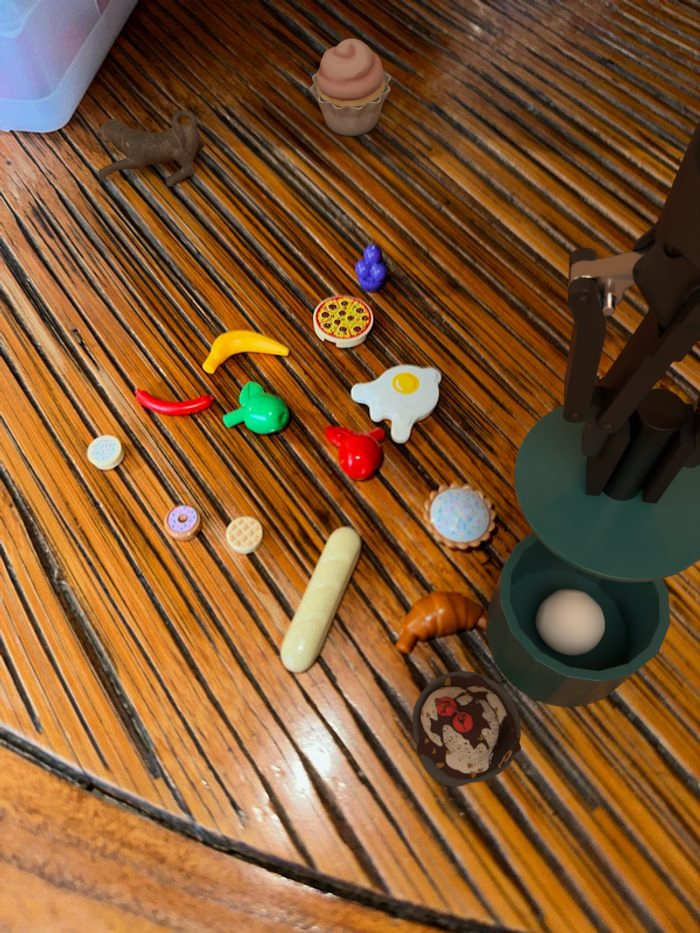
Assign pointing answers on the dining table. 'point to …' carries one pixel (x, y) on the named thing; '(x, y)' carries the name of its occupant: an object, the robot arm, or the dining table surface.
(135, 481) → the dining table surface
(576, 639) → the beige ball
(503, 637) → the pot
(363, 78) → the cupcake
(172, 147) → the dog figurine
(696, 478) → the lid
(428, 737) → the sundae
